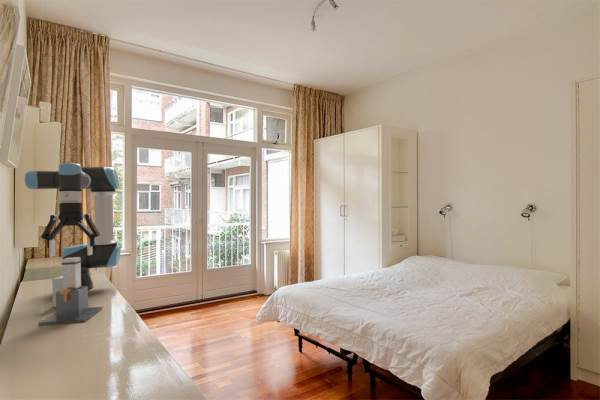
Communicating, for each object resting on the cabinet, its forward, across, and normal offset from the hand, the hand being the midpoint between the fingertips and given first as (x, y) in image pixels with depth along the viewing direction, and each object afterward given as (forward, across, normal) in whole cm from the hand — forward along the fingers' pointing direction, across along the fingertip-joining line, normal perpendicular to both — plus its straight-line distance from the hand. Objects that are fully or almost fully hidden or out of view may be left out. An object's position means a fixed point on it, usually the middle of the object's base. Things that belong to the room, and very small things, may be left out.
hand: (71, 255), depth 136 cm
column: (+23, 0, 0) cm, 23 cm away
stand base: (+24, 0, 0) cm, 24 cm away
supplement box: (+24, -11, +20) cm, 33 cm away
